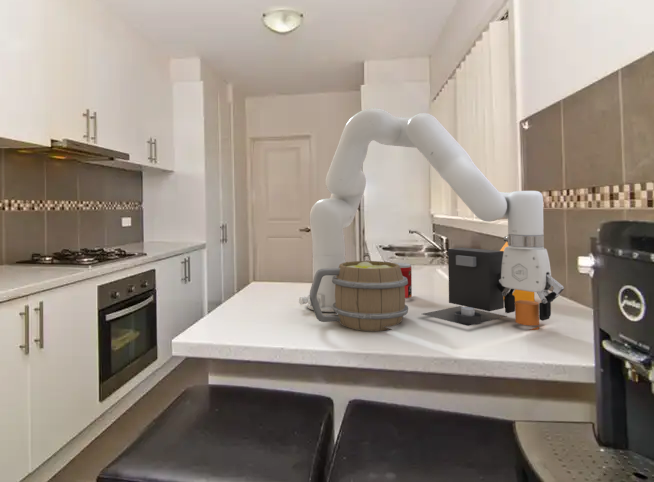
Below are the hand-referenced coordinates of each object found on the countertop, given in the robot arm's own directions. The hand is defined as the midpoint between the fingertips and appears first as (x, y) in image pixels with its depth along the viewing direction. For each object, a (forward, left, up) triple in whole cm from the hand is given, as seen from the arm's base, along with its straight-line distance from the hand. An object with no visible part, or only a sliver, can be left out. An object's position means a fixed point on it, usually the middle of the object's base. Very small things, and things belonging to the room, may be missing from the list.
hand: (526, 315), depth 108 cm
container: (0, 0, -3) cm, 3 cm away
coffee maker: (-2, +13, 0) cm, 13 cm away
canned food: (-1, +40, -3) cm, 40 cm away
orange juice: (+28, +19, -3) cm, 34 cm away
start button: (-11, +9, 0) cm, 14 cm away
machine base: (-6, +13, -3) cm, 15 cm away
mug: (-31, +25, -3) cm, 40 cm away
